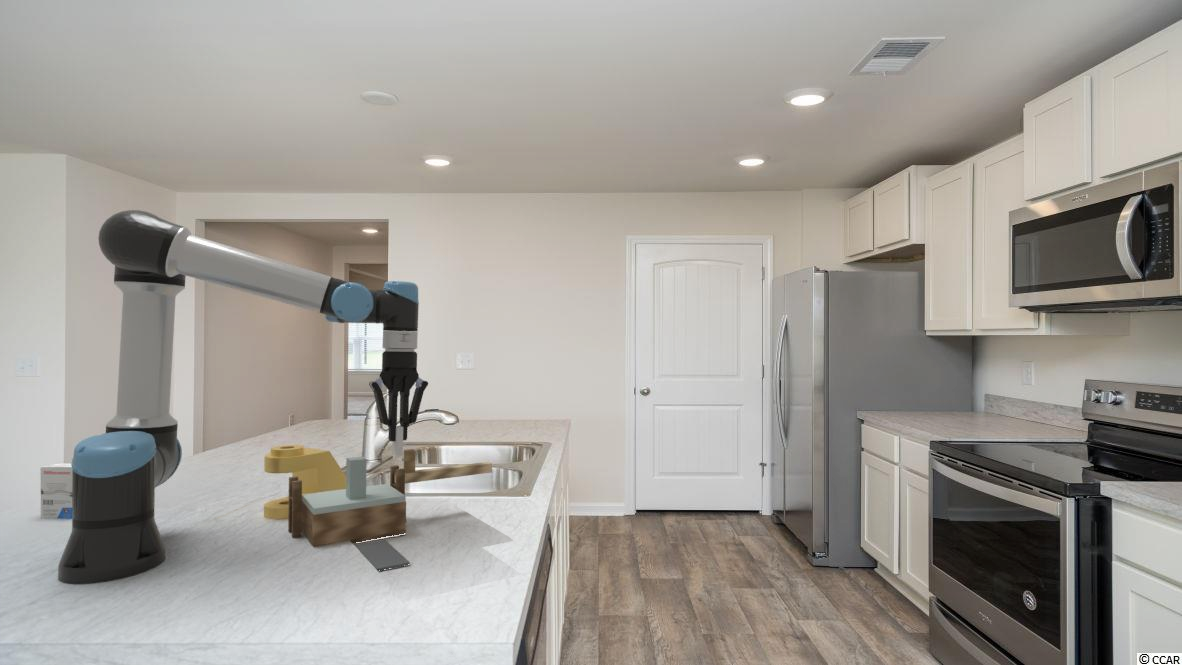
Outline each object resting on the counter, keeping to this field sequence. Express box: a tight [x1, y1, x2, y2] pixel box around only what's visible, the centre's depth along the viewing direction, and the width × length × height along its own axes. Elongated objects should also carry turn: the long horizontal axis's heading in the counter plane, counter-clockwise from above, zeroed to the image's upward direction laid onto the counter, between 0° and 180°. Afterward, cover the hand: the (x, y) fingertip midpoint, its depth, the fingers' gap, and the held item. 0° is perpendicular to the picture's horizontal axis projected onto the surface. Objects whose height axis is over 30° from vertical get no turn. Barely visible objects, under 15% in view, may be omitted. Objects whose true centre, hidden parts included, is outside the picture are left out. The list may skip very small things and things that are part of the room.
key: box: [395, 448, 493, 484], centre depth 147 cm, size 23×2×7 cm, turn 124°
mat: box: [353, 539, 411, 572], centre depth 114 cm, size 20×15×1 cm
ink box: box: [40, 462, 73, 520], centre depth 143 cm, size 9×5×12 cm, turn 84°
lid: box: [302, 455, 407, 515], centre depth 131 cm, size 18×13×9 cm
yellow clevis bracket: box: [263, 444, 346, 520], centre depth 148 cm, size 20×9×16 cm, turn 151°
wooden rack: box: [287, 464, 407, 548], centre depth 131 cm, size 23×14×12 cm, turn 124°
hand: (397, 455), depth 140 cm, fingers closed
